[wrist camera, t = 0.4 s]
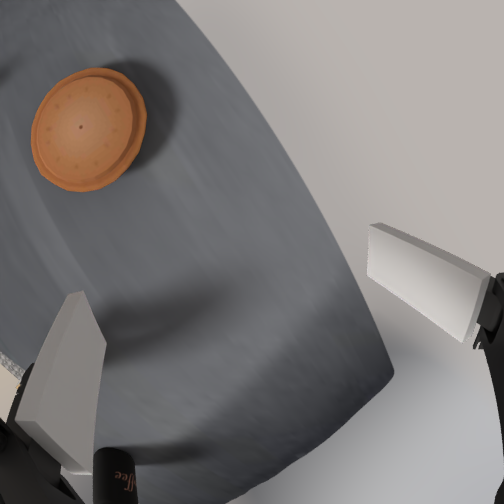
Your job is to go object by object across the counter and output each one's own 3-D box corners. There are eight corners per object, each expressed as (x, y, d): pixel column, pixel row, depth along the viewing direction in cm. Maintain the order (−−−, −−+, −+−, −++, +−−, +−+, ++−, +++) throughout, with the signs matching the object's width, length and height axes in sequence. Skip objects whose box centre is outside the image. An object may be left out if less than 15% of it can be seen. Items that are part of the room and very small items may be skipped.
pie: (55, 75, 24) (42, 66, 20) (160, 79, 30) (159, 68, 25) (35, 184, 29) (19, 189, 24) (137, 193, 34) (133, 199, 30)
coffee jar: (140, 464, 52) (147, 522, 36) (104, 466, 50) (107, 521, 33) (124, 445, 48) (128, 510, 32) (86, 446, 46) (84, 507, 30)
